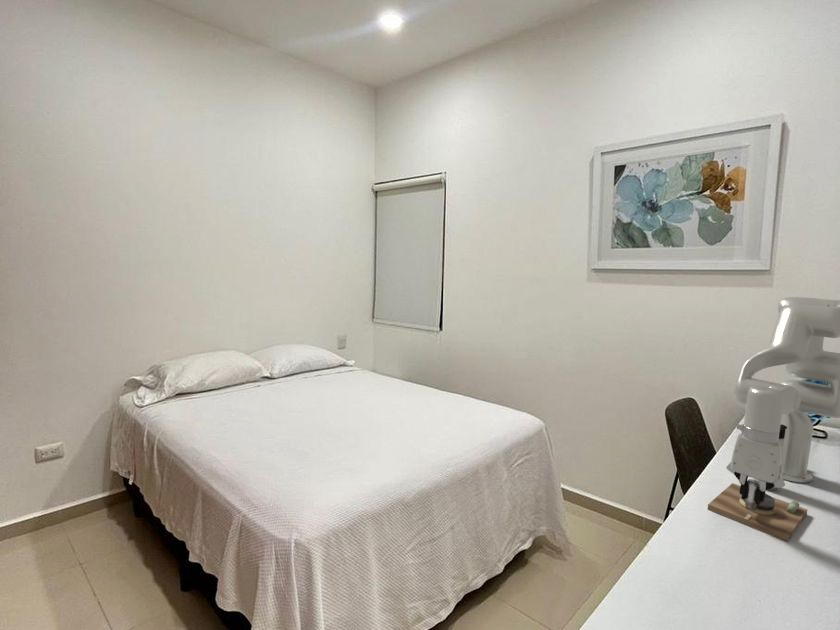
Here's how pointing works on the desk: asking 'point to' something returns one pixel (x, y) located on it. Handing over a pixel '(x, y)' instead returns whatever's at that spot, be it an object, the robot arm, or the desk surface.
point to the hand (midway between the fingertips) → (751, 499)
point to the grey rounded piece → (751, 498)
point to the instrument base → (760, 513)
